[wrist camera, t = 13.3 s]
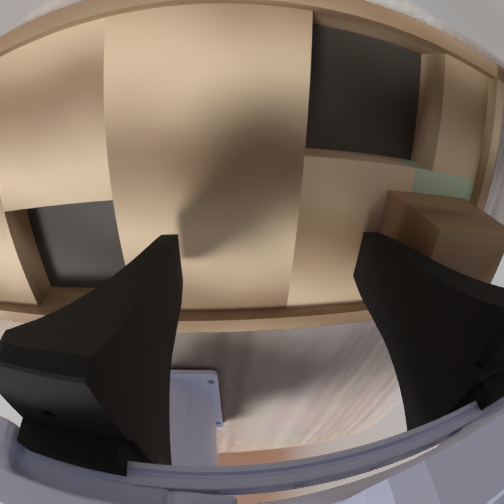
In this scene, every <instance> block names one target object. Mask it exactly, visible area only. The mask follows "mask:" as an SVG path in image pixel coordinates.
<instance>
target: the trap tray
mask: <svg viewBox="0 0 504 504" xmlns="http://www.w3.org/2000/svg"><path fill="white" fill-rule="evenodd" d="M503 109H504V69H502V68H501V67H500V66H498V65H497V64H495V63H494V62H492V61H491V60H490V59H488V58H486V57H485V56H483V55H482V54H480V53H479V52H477V51H476V50H474V49H472V48H471V47H469V46H467V45H465V44H464V43H462V42H460V41H458V40H457V39H455V38H453V37H451V36H449V35H447V34H445V33H444V32H442V31H440V30H438V29H436V28H433V27H431V26H429V25H427V24H425V23H423V22H420V21H418V20H416V19H414V18H411V17H409V16H406V15H404V14H401V13H399V12H396V11H394V10H391V9H388V8H385V7H382V6H379V5H376V4H373V3H370V2H367V1H364V0H86V1H82V2H79V3H76V4H73V5H70V6H68V7H65V8H62V9H59V10H57V11H54V12H52V13H49V14H47V15H44V16H42V17H40V18H37V19H35V20H33V21H31V22H28V23H26V24H24V25H22V26H20V27H18V28H16V29H14V30H12V31H10V32H8V33H7V34H5V35H3V36H1V37H0V319H2V320H8V321H16V322H22V323H28V322H31V321H33V320H36V319H38V318H41V317H43V316H45V315H48V314H50V313H52V312H54V311H56V310H58V309H60V308H62V307H64V306H66V305H68V304H70V303H72V302H73V301H75V300H77V299H79V298H80V297H82V296H84V295H86V294H87V293H89V292H91V291H92V290H94V289H95V288H97V287H98V286H100V285H101V284H103V283H104V282H106V281H107V280H108V279H110V278H111V277H112V276H114V275H115V274H116V273H118V272H119V271H120V270H121V269H122V268H124V267H125V266H126V265H127V264H128V263H130V262H131V261H132V260H133V259H134V258H136V257H137V256H138V255H139V254H140V253H141V252H142V251H143V250H144V249H146V248H147V247H148V246H149V245H150V244H151V243H152V242H153V241H154V240H155V239H157V238H158V237H159V236H160V235H167V234H178V239H179V249H180V258H181V267H182V276H183V292H182V305H181V310H180V315H179V321H178V326H177V331H176V333H200V332H239V331H261V330H277V329H291V328H304V327H315V326H326V325H335V324H344V323H353V322H361V321H369V320H373V318H372V316H371V315H370V313H369V311H368V309H367V307H366V305H365V303H364V302H363V300H362V298H361V296H360V293H359V291H358V288H357V286H356V283H355V280H354V277H353V273H354V269H355V266H356V262H357V258H358V254H359V250H360V246H361V241H362V237H363V233H364V232H378V233H379V230H380V226H381V222H382V217H383V213H384V209H385V204H386V199H387V194H388V190H391V191H402V192H412V193H422V194H431V195H439V196H448V197H455V198H463V199H465V200H467V201H468V202H470V203H472V204H473V205H475V206H476V207H478V208H479V209H481V210H482V211H484V208H485V204H486V201H487V197H488V193H489V189H490V185H491V181H492V177H493V173H494V168H495V163H496V158H497V153H498V147H499V141H500V134H501V127H502V119H503Z"/></svg>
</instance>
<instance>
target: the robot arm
mask: <svg viewBox="0 0 504 504" xmlns="http://www.w3.org/2000/svg"><path fill="white" fill-rule="evenodd" d="M353 277H354V280H355V283H356V286H357V288H358V291H359V293H360V296H361V298H362V300H363V302H364V303H365V305H366V307H367V309H368V311H369V313H370V315H371V316H372V318H373V320H374V322H375V324H376V326H377V328H378V329H379V331H380V333H381V335H382V337H383V339H384V341H385V344H386V346H387V348H388V351H389V354H390V357H391V359H392V362H393V365H394V368H395V372H396V375H397V379H398V382H399V386H400V390H401V395H402V399H403V404H404V409H405V416H406V424H407V432H404V433H401V434H398V435H395V436H392V437H389V438H387V439H383V440H380V441H377V442H374V443H370V444H367V445H363V446H359V447H355V448H352V449H348V450H344V451H339V452H335V453H330V454H326V455H321V456H316V457H310V458H304V459H298V460H291V461H284V462H276V463H267V464H256V465H241V466H218V459H217V439H216V429H222V428H223V420H222V411H221V402H220V392H219V382H218V374H217V372H216V371H214V370H171V360H172V353H173V347H174V342H175V336H176V331H177V326H178V321H179V315H180V310H181V305H182V292H183V276H182V267H181V258H180V249H179V239H178V234H167V235H160V236H159V237H158V238H157V239H155V240H154V241H153V242H152V243H151V244H150V245H149V246H148V247H147V248H146V249H144V250H143V251H142V252H141V253H140V254H139V255H138V256H137V257H136V258H134V259H133V260H132V261H131V262H130V263H128V264H127V265H126V266H125V267H124V268H122V269H121V270H120V271H119V272H118V273H116V274H115V275H114V276H112V277H111V278H110V279H108V280H107V281H106V282H104V283H103V284H101V285H100V286H98V287H97V288H95V289H94V290H92V291H91V292H89V293H87V294H86V295H84V296H82V297H80V298H79V299H77V300H75V301H73V302H72V303H70V304H68V305H66V306H64V307H62V308H60V309H58V310H56V311H54V312H52V313H50V314H48V315H45V316H43V317H41V318H38V319H36V320H33V321H31V322H28V323H25V324H23V325H20V326H17V327H14V328H12V329H8V330H6V331H5V332H4V334H3V336H2V338H1V340H0V394H1V395H2V396H3V397H4V399H5V400H6V401H7V402H8V403H9V404H10V405H11V406H12V407H13V408H14V409H15V410H16V411H17V412H18V413H19V414H20V415H21V416H22V417H23V419H22V423H21V426H20V428H19V427H18V426H17V425H16V424H14V423H13V422H11V421H10V420H7V419H6V418H3V417H1V416H0V503H1V504H237V499H236V498H234V497H233V496H221V495H244V494H257V493H267V492H276V491H283V490H291V489H297V488H303V487H309V486H314V485H319V484H323V483H327V482H332V481H337V480H340V479H344V478H348V477H352V476H355V475H359V474H362V473H366V472H369V471H372V470H375V469H378V468H381V467H384V466H387V465H390V464H392V463H395V462H398V461H400V460H403V459H405V458H408V457H410V456H413V455H415V454H418V453H420V452H422V451H425V450H427V449H429V448H431V447H433V446H435V445H437V444H440V443H441V444H440V445H439V446H438V447H436V448H434V449H432V450H431V451H429V452H427V453H424V454H422V455H421V456H419V457H417V458H415V459H413V460H410V461H408V462H406V463H403V464H401V465H399V466H396V467H394V468H391V469H389V470H386V471H384V472H381V473H378V474H375V475H372V476H370V477H367V478H364V479H361V480H358V481H355V482H352V483H348V484H345V485H342V486H338V487H335V488H331V489H328V490H324V491H320V492H316V493H312V494H308V495H303V496H299V497H294V498H289V499H283V500H278V501H271V502H264V503H257V504H504V288H503V287H499V286H495V285H492V284H489V283H486V282H483V281H480V280H477V279H474V278H472V277H469V276H466V275H464V274H462V273H459V272H457V271H455V270H453V269H450V268H448V267H446V266H444V265H442V264H440V263H438V262H436V261H434V260H432V259H430V258H428V257H426V256H425V255H423V254H421V253H419V252H417V251H415V250H413V249H412V248H410V247H408V246H406V245H404V244H402V243H400V242H398V241H396V240H395V239H392V238H390V237H388V236H386V235H384V234H381V233H378V232H364V233H363V237H362V241H361V246H360V250H359V254H358V258H357V262H356V266H355V269H354V273H353Z"/></svg>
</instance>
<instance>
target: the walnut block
mask: <svg viewBox="0 0 504 504" xmlns="http://www.w3.org/2000/svg"><path fill="white" fill-rule="evenodd" d="M379 233H381V234H384V235H386V236H388V237H390V238H392V239H395V240H396V241H398V242H400V243H402V244H404V245H406V246H408V247H410V248H412V249H413V250H415V251H417V252H419V253H421V254H423V255H425V256H426V257H428V258H430V259H432V260H434V261H436V262H438V263H440V264H442V265H444V266H446V267H448V268H450V269H453V270H455V271H457V272H459V273H462V274H464V275H466V276H469V277H472V278H474V279H477V280H480V281H483V282H486V283H489V284H490V283H491V281H492V279H493V277H494V275H495V272H496V270H497V268H498V266H499V263H500V261H501V259H502V256H503V254H504V226H503V225H502V224H500V223H499V222H498V221H496V220H495V219H494V218H492V217H491V216H489V215H488V214H486V213H485V212H483V211H482V210H481V209H479V208H478V207H476V206H475V205H473V204H472V203H470V202H468V201H467V200H465V199H463V198H455V197H448V196H439V195H431V194H422V193H412V192H402V191H391V190H388V194H387V199H386V204H385V209H384V213H383V217H382V222H381V226H380V230H379Z"/></svg>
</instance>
